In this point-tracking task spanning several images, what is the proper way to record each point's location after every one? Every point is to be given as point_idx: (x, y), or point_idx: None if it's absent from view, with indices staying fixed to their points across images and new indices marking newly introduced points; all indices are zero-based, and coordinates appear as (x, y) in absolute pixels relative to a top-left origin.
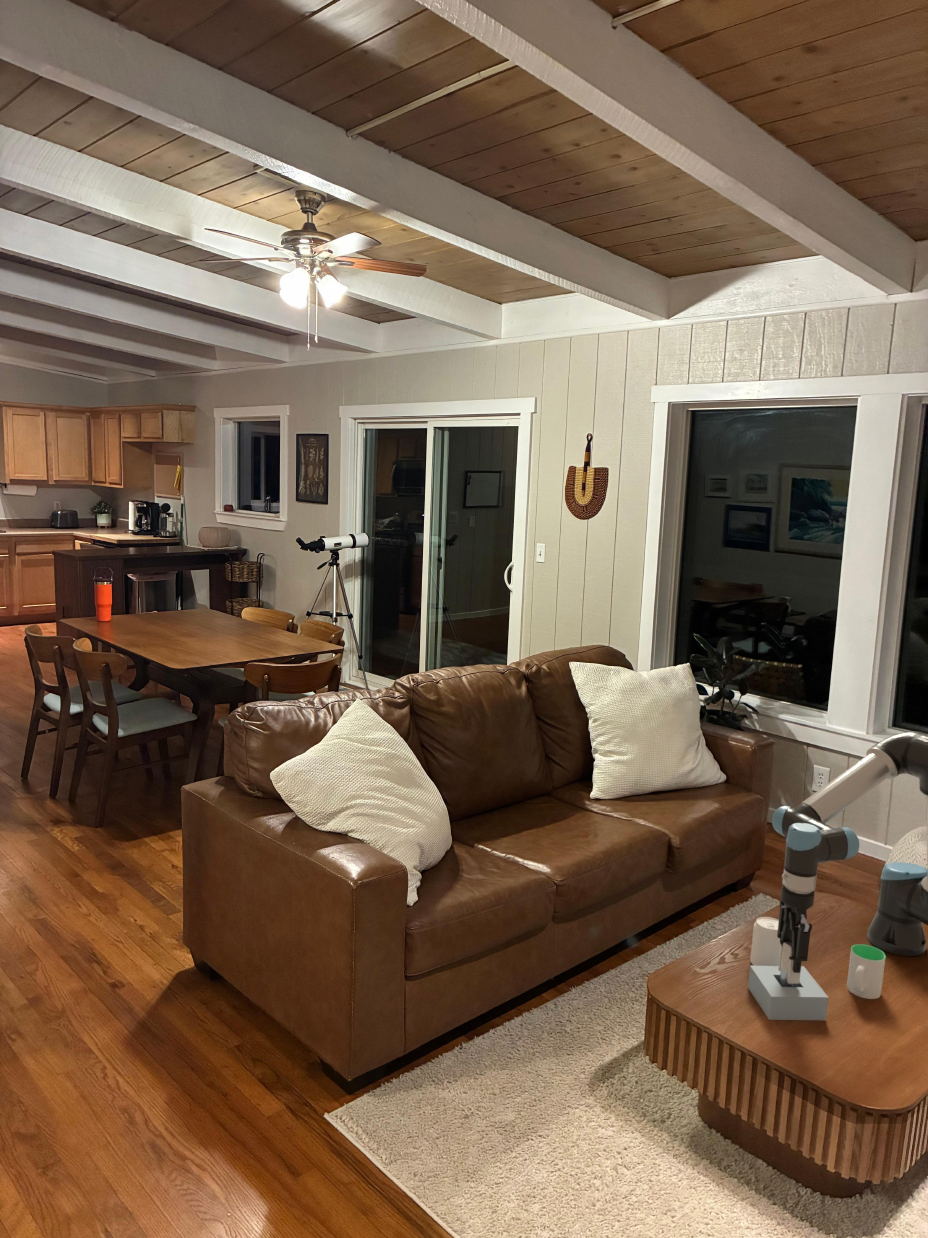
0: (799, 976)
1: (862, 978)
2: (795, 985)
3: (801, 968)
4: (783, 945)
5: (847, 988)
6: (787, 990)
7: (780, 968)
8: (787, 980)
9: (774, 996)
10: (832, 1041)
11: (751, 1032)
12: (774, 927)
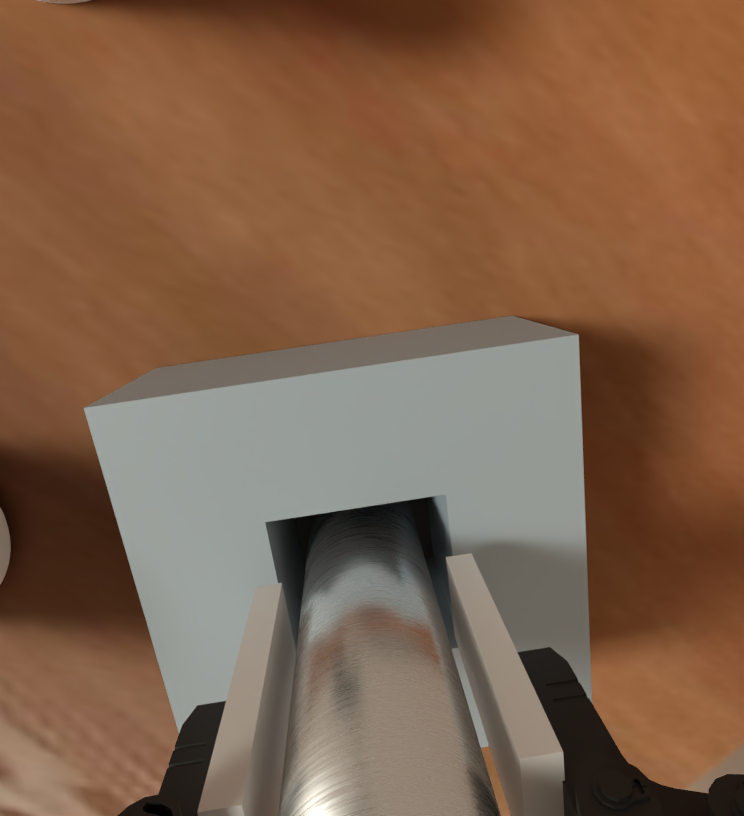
0: (490, 598)
1: None
2: (410, 541)
3: (130, 439)
4: None
5: (58, 2)
6: (505, 619)
7: (293, 676)
8: (458, 645)
9: None
10: (711, 339)
11: (639, 709)
12: None
